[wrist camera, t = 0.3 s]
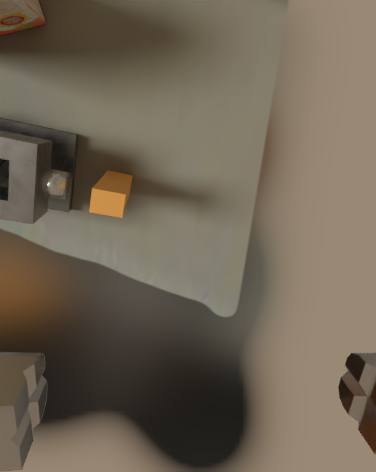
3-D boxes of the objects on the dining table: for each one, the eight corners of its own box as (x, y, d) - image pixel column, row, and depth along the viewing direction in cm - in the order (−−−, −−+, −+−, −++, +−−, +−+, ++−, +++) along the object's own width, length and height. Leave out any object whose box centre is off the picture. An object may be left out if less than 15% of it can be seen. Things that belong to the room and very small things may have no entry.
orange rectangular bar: (107, 170, 51) (92, 188, 38) (132, 175, 51) (125, 194, 38) (105, 188, 52) (89, 212, 39) (130, 193, 52) (122, 218, 39)
